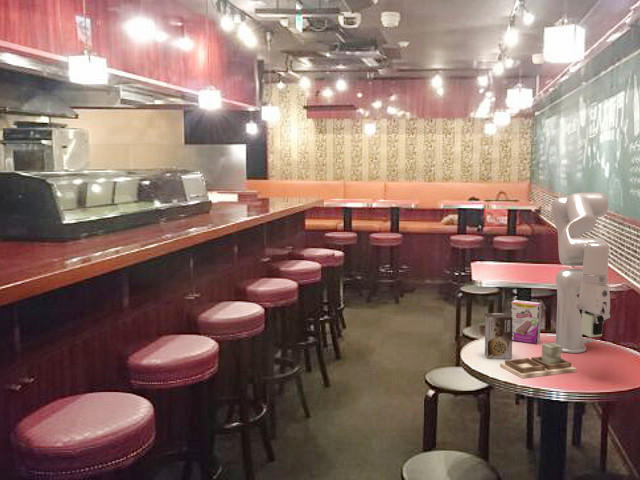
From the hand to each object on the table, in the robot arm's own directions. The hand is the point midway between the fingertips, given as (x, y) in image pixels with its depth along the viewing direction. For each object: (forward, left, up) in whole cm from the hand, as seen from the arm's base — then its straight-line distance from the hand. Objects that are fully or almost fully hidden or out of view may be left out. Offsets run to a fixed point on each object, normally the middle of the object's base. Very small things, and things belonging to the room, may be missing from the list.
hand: (591, 331), depth 206 cm
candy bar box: (-6, -43, -16) cm, 47 cm away
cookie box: (+16, -29, -16) cm, 37 cm away
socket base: (+11, -12, -16) cm, 23 cm away
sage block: (0, 0, -1) cm, 1 cm away
